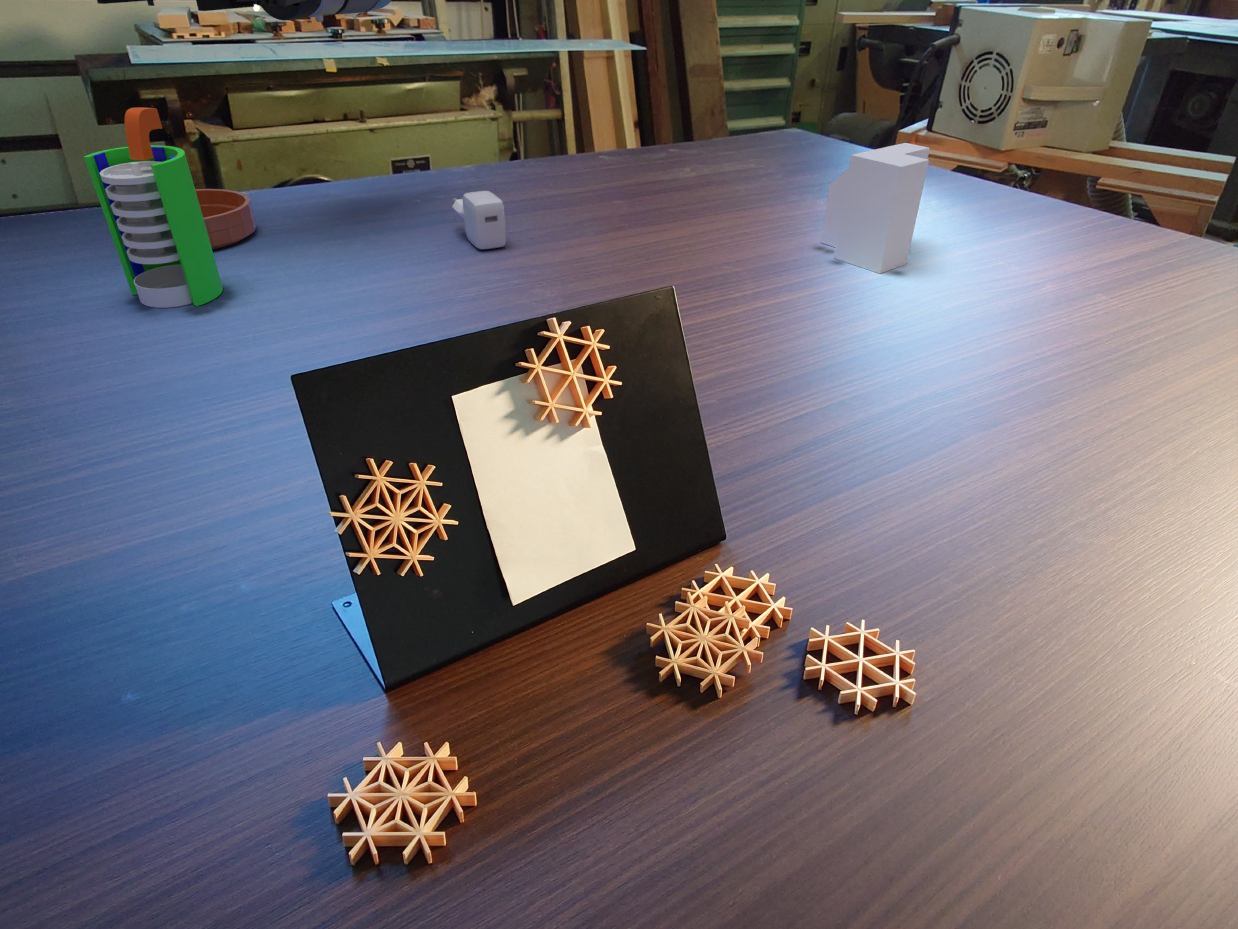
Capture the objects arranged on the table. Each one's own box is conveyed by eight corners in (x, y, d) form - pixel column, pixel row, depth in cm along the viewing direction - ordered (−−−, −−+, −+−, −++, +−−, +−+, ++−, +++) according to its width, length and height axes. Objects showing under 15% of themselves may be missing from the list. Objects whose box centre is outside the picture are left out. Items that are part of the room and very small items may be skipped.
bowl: (106, 245, 98) (95, 212, 96) (199, 214, 109) (190, 183, 107) (194, 262, 94) (184, 228, 91) (281, 228, 105) (274, 197, 102)
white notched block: (879, 273, 94) (901, 166, 87) (803, 247, 101) (818, 147, 94) (931, 254, 100) (955, 153, 93) (855, 231, 107) (873, 135, 100)
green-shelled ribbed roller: (115, 305, 83) (49, 118, 73) (159, 277, 90) (104, 102, 80) (200, 309, 82) (145, 121, 72) (238, 281, 89) (193, 105, 79)
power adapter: (448, 227, 106) (443, 181, 103) (484, 222, 108) (480, 177, 105) (474, 253, 98) (470, 204, 94) (512, 247, 99) (509, 199, 96)
